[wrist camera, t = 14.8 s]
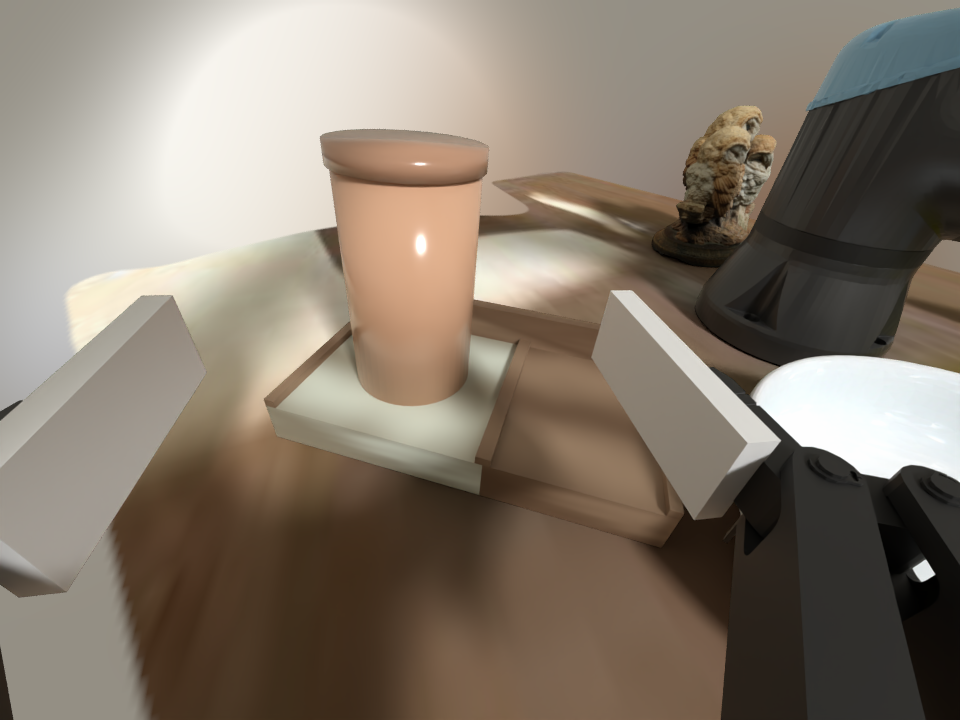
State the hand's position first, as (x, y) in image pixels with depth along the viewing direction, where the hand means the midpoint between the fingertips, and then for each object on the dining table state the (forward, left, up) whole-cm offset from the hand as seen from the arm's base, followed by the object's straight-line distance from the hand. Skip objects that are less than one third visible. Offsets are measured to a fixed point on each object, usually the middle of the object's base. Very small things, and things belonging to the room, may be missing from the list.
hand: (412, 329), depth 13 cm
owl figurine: (-51, +21, -12) cm, 56 cm away
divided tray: (-9, +1, -11) cm, 14 cm away
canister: (-9, -4, -9) cm, 13 cm away
